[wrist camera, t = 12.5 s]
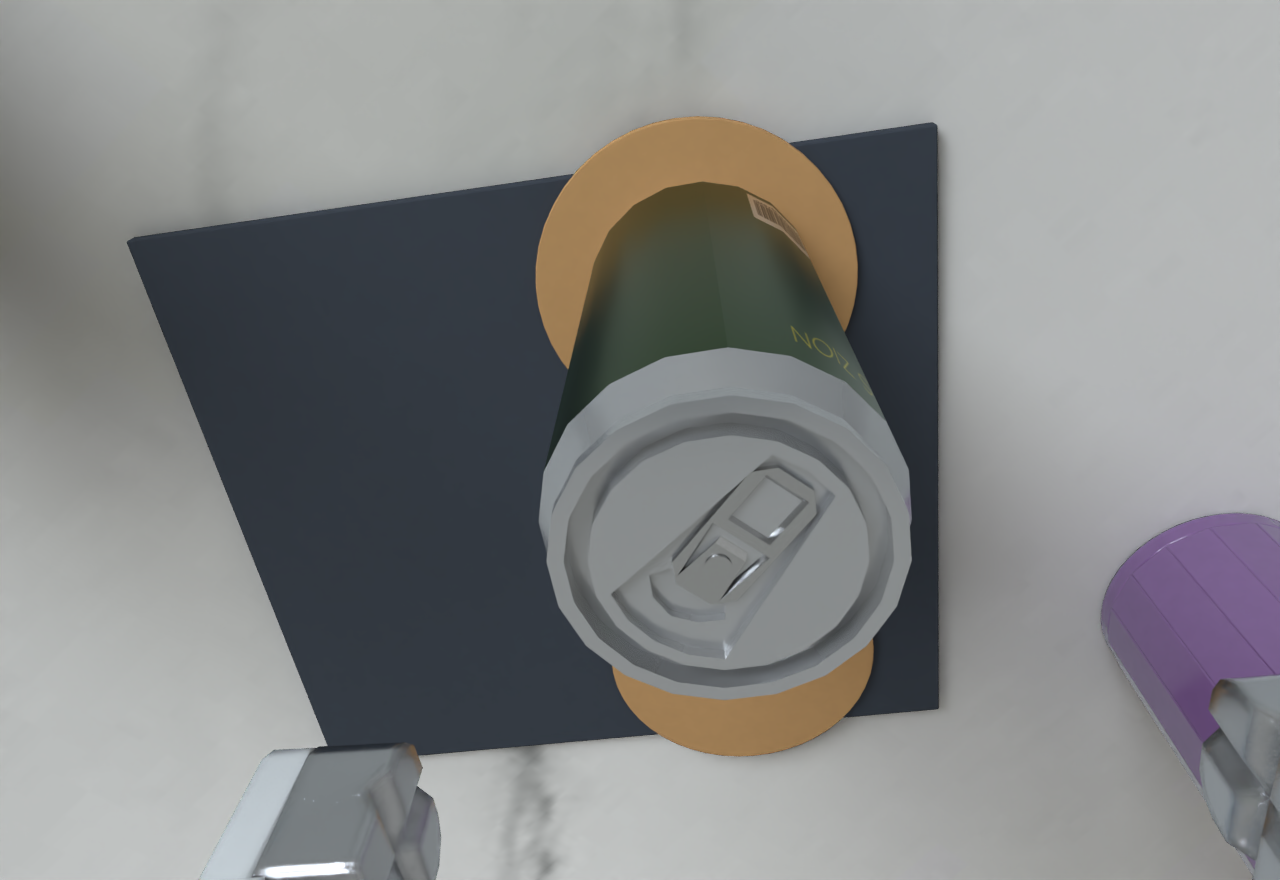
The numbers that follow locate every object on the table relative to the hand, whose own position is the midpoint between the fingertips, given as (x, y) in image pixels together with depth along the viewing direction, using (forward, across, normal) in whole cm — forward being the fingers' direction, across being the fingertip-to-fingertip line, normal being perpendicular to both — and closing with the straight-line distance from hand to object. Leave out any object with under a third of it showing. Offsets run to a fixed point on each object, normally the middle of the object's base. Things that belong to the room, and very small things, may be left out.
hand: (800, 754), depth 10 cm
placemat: (+16, +5, +6) cm, 18 cm away
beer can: (+15, +1, 0) cm, 16 cm away
